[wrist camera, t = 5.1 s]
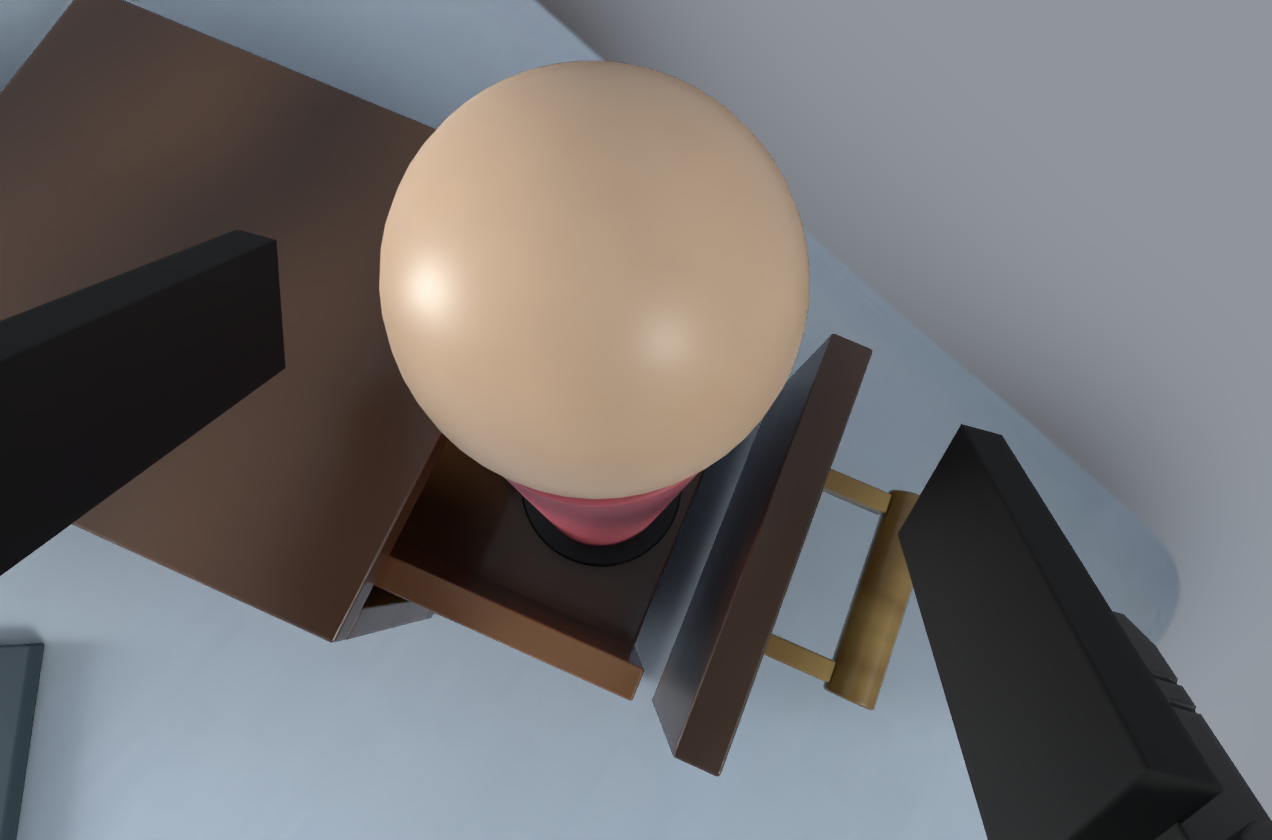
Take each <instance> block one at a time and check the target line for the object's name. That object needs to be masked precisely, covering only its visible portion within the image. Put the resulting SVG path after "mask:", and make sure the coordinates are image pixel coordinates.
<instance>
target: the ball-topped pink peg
mask: <svg viewBox="0 0 1272 840" xmlns="http://www.w3.org/2000/svg"><path fill="white" fill-rule="evenodd" d="M809 280H810V276H809V262H808V254H807V246H806V238H805V234H804V230H803V227H802V223H801V219H800V216H799V213H798V210H797V208H796V205H795V203H794V200H793V198H792V195H791V193H790V191H789V188H788V186H787V183H786V181H785V179H784V177H783V175H782V174H781V172H780V170H779V169H778V167H777V165H776V164H775V162H774V160H773V158H772V157H771V156H770V154H769V153H768V152H767V150H766V149H765V148H764V146H763V145H762V144H761V143H760V141H759V140H758V139H757V138H756V136H754V134H753V133H752V132H751V131H750V130H749V129H748V128H747V127H746V126H745V125H744V124H743V123H742V122H741V121H740V120H739V119H738V118H737V117H736V116H735V115H734V114H733V113H732V112H731V111H729V110H728V109H727V108H725V107H724V106H723V105H722V104H720V103H719V102H718V101H717V100H715V99H714V98H712V97H711V96H709V95H707V94H706V93H704V92H702V91H701V90H699V89H698V88H696V87H694V86H692V85H690V84H688V83H686V82H684V81H682V80H680V79H677V78H675V77H673V76H670V75H667V74H664V73H661V72H658V71H655V70H652V69H649V68H645V67H640V66H635V65H630V64H626V63H618V62H609V61H574V62H566V63H558V64H552V65H548V66H544V67H539V68H535V69H531V70H528V71H525V72H522V73H520V74H517V75H514V76H511V77H509V78H506V79H504V80H502V81H500V82H498V83H496V84H494V85H492V86H490V87H488V88H486V89H484V90H483V91H481V92H480V93H478V94H477V95H475V96H474V97H472V98H471V99H469V100H468V101H466V102H465V103H464V104H463V105H462V106H460V107H459V108H458V109H457V110H456V111H455V112H453V113H452V114H451V115H450V116H449V117H448V118H447V119H446V120H445V121H444V122H443V123H442V124H441V125H440V126H439V127H438V128H437V130H436V131H435V132H434V133H433V134H432V135H431V136H430V137H429V138H428V140H427V141H426V142H425V143H424V144H423V145H422V147H421V148H420V150H419V151H418V153H417V154H416V156H415V157H414V159H413V160H412V162H411V163H410V165H409V166H408V168H407V170H406V172H405V174H404V176H403V178H402V180H401V182H400V184H399V186H398V189H397V191H396V194H395V197H394V199H393V202H392V205H391V208H390V211H389V214H388V217H387V220H386V223H385V228H384V234H383V239H382V245H381V252H380V280H379V291H380V300H381V310H382V317H383V321H384V325H385V328H386V332H387V336H388V340H389V344H390V347H391V350H392V353H393V356H394V358H395V361H396V363H397V365H398V368H399V370H400V373H401V375H402V377H403V379H404V381H405V383H406V384H407V386H408V388H409V389H410V391H411V393H412V394H413V396H414V398H415V399H416V401H417V403H418V404H419V405H420V406H421V408H422V409H423V410H424V412H425V413H426V414H427V415H428V417H429V418H430V419H431V420H432V422H433V423H434V424H435V425H436V426H437V428H438V429H439V430H440V431H441V432H442V433H443V434H444V435H445V436H446V437H447V438H448V439H449V440H450V441H451V442H452V443H453V444H454V445H456V446H457V447H458V448H459V449H460V450H461V451H462V452H464V453H465V454H467V455H468V456H469V457H471V458H472V459H474V460H475V461H477V462H478V463H479V464H481V465H482V466H484V467H486V468H487V469H489V470H491V471H493V472H495V473H497V474H499V475H501V476H503V477H504V478H505V479H506V480H507V481H508V482H509V483H510V484H511V485H512V486H513V487H514V488H516V489H517V490H518V491H519V492H520V493H521V494H522V499H523V505H524V508H525V512H526V515H527V517H528V519H529V522H530V524H531V526H532V527H533V529H534V530H535V532H536V534H537V535H538V536H539V537H540V538H541V540H542V541H543V542H544V543H545V544H546V545H547V546H548V547H549V548H551V549H552V550H553V551H555V552H556V553H558V554H559V555H561V556H563V557H565V558H567V559H568V560H571V561H574V562H576V563H579V564H583V565H588V566H597V567H605V566H614V565H620V564H623V563H626V562H629V561H632V560H634V559H636V558H638V557H640V556H642V555H643V554H645V553H646V552H648V551H649V550H651V549H652V548H653V547H654V546H655V545H656V544H658V543H659V542H660V540H661V539H662V538H663V537H664V536H665V535H666V533H667V532H668V530H669V529H670V527H671V526H672V524H673V521H674V519H675V517H676V515H677V512H678V509H679V505H680V500H681V493H682V490H683V489H684V488H685V487H686V486H687V485H688V483H689V482H690V481H691V480H692V479H693V478H694V477H695V476H696V475H697V474H698V473H699V472H701V471H702V470H704V469H706V468H707V467H709V466H710V465H712V464H713V463H715V462H716V461H718V460H719V459H721V458H722V457H724V456H725V455H727V454H728V453H729V452H730V451H731V450H732V449H733V448H735V447H736V446H737V445H738V444H739V443H740V442H742V441H743V440H744V439H745V438H746V437H747V436H748V435H749V434H750V432H751V431H752V430H753V429H754V428H755V427H756V426H757V424H758V423H759V422H760V421H761V420H762V419H763V417H764V416H765V414H766V413H767V412H768V410H769V409H770V407H771V405H772V404H773V402H774V401H775V399H776V398H777V396H778V395H779V393H780V392H781V390H782V389H783V387H784V385H785V383H786V381H787V379H788V376H789V374H790V372H791V370H792V368H793V366H794V364H795V360H796V357H797V354H798V351H799V347H800V344H801V341H802V337H803V333H804V330H805V324H806V318H807V312H808V306H809Z"/></svg>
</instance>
